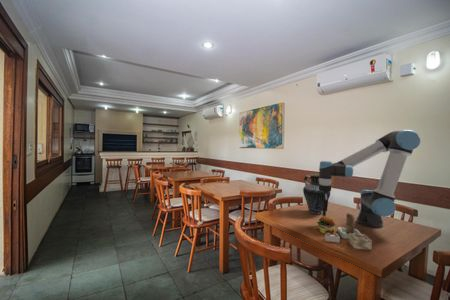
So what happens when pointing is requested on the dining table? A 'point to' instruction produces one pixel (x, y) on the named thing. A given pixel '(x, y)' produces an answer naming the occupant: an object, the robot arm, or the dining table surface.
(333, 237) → the rail
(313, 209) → the jug
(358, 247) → the jig block
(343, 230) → the tray
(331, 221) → the cheeseburger
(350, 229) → the dowel
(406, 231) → the dining table surface
